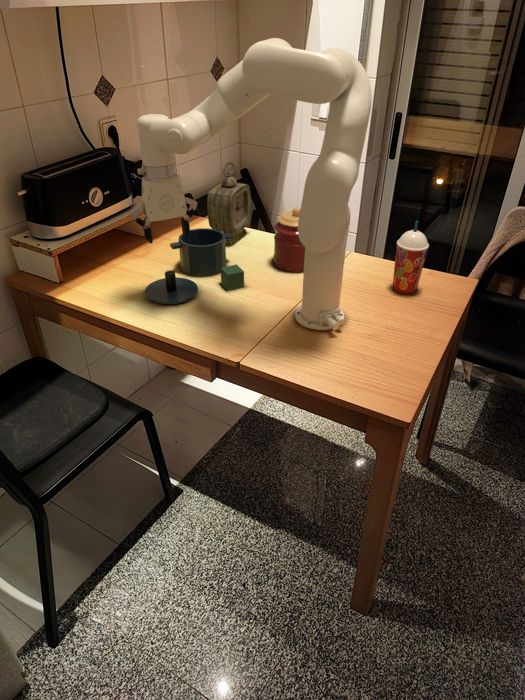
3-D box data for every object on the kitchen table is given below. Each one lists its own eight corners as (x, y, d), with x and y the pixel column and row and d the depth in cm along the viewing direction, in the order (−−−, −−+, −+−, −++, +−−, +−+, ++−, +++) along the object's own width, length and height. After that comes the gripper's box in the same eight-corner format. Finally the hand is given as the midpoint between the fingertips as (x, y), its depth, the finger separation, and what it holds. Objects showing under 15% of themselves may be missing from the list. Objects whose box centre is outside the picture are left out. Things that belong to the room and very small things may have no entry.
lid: (206, 299, 141) (204, 278, 137) (154, 310, 135) (151, 289, 132) (187, 277, 151) (186, 257, 148) (139, 287, 146) (136, 267, 143)
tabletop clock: (231, 248, 169) (229, 170, 154) (207, 243, 172) (203, 166, 158) (251, 232, 180) (250, 158, 165) (228, 228, 183) (225, 155, 168)
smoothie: (424, 288, 147) (439, 220, 135) (409, 299, 142) (423, 229, 130) (399, 279, 151) (410, 213, 140) (383, 289, 146) (394, 221, 135)
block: (244, 287, 147) (244, 271, 144) (228, 290, 145) (227, 274, 142) (237, 280, 150) (236, 264, 147) (221, 283, 148) (220, 267, 146)
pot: (241, 269, 156) (241, 239, 150) (181, 282, 149) (178, 251, 143) (223, 252, 166) (222, 224, 160) (166, 263, 159) (163, 234, 153)
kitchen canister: (324, 266, 158) (328, 209, 148) (290, 276, 152) (292, 218, 142) (298, 251, 167) (301, 197, 157) (265, 260, 161) (265, 205, 151)
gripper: (128, 180, 118) (139, 249, 128) (199, 169, 125) (204, 237, 134) (120, 171, 124) (131, 239, 134) (188, 162, 130) (194, 227, 140)
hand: (167, 238), depth 134 cm, fingers open, 9 cm apart
